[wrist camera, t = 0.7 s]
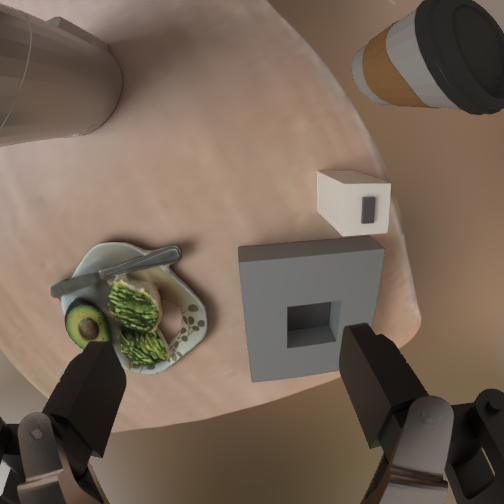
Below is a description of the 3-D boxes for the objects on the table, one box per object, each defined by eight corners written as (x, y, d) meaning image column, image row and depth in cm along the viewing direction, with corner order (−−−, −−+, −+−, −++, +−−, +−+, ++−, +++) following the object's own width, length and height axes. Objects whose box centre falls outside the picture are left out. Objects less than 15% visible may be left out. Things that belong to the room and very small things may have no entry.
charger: (316, 171, 25) (345, 184, 19) (355, 170, 25) (392, 184, 19) (317, 211, 27) (343, 237, 20) (354, 209, 27) (389, 234, 20)
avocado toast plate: (125, 186, 25) (106, 196, 21) (247, 302, 31) (250, 328, 27) (48, 295, 29) (31, 315, 25) (147, 376, 35) (141, 400, 31)
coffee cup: (422, 85, 22) (531, 79, 8) (380, 131, 24) (495, 144, 10) (371, 26, 19) (465, -25, 5) (322, 68, 21) (411, 15, 8)
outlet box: (238, 247, 28) (238, 262, 25) (370, 235, 28) (384, 248, 25) (250, 362, 34) (251, 382, 31) (353, 347, 35) (362, 365, 31)
